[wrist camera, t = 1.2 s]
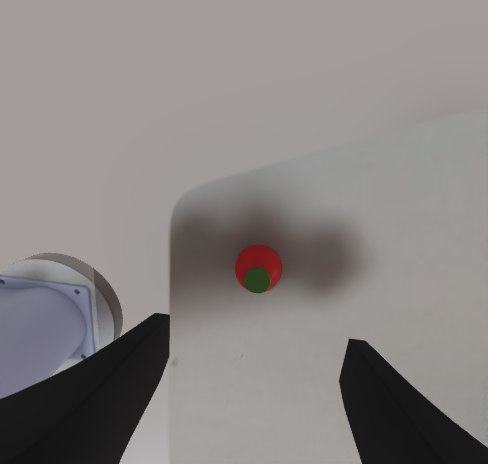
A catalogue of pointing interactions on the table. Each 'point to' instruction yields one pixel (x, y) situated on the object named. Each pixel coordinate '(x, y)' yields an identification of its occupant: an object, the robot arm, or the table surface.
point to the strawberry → (258, 268)
